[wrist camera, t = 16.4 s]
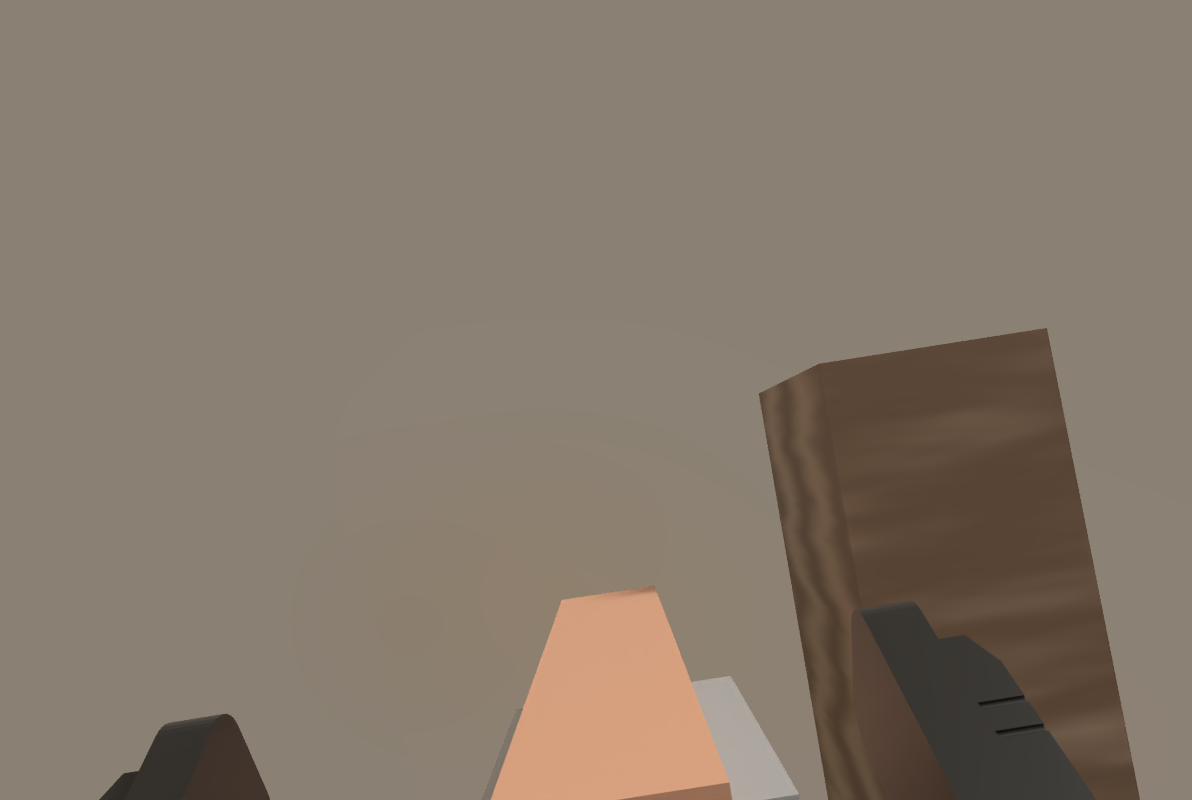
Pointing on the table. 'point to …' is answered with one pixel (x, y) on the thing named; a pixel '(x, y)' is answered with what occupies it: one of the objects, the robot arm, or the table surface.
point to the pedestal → (945, 536)
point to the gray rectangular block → (719, 745)
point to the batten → (612, 711)
